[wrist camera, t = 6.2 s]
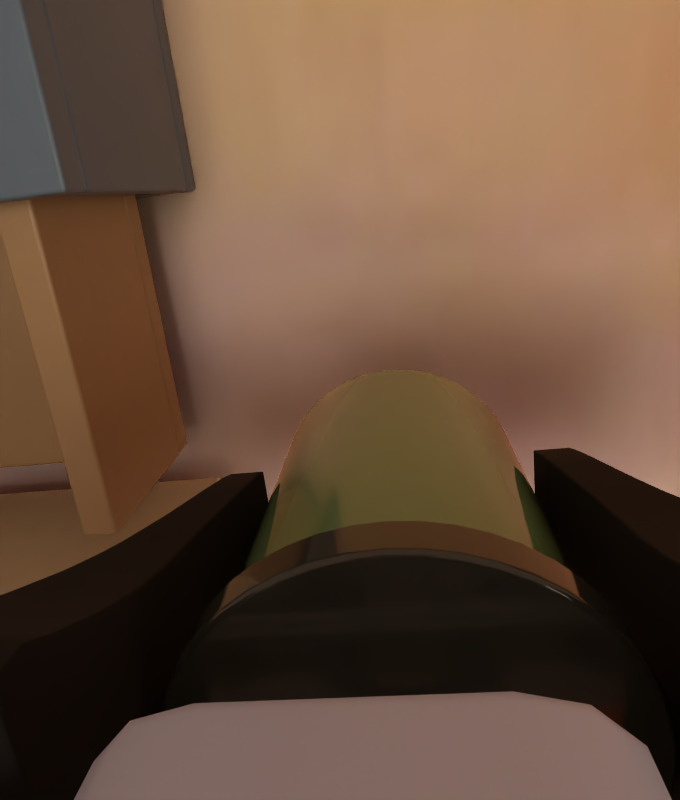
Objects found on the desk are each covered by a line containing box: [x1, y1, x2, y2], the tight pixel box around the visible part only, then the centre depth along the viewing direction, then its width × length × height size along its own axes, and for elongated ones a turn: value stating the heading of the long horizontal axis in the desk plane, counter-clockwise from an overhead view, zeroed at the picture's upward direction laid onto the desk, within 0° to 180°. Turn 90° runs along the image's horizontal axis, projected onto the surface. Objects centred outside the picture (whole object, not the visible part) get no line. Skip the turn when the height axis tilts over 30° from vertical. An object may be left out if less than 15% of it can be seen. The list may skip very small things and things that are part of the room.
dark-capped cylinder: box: [160, 370, 677, 799], centre depth 10 cm, size 5×5×7 cm
